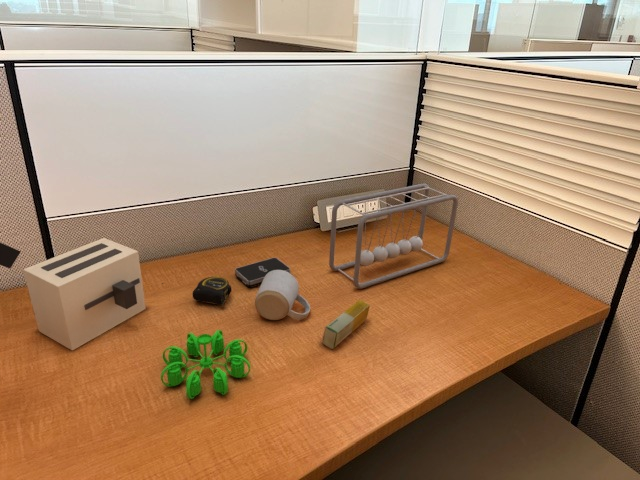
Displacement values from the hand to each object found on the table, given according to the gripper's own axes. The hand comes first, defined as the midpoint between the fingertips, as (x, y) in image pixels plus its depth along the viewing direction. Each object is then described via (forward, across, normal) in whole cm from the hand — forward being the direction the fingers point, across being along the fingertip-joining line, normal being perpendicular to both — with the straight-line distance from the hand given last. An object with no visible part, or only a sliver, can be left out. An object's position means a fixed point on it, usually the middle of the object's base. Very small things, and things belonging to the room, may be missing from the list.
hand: (12, 258), depth 67 cm
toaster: (+26, -8, -5) cm, 28 cm away
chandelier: (+27, +20, -4) cm, 34 cm away
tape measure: (+39, +6, +8) cm, 40 cm away
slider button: (+24, -1, 0) cm, 24 cm away
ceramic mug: (+42, +20, +11) cm, 48 cm away
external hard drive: (+49, +8, +17) cm, 52 cm away
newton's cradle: (+64, +30, +33) cm, 78 cm away
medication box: (+43, +34, +12) cm, 56 cm away
